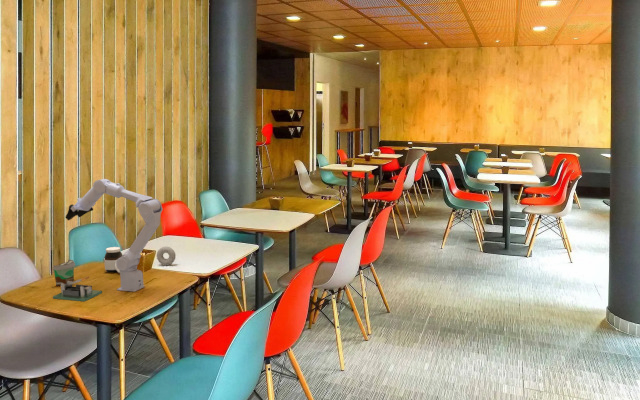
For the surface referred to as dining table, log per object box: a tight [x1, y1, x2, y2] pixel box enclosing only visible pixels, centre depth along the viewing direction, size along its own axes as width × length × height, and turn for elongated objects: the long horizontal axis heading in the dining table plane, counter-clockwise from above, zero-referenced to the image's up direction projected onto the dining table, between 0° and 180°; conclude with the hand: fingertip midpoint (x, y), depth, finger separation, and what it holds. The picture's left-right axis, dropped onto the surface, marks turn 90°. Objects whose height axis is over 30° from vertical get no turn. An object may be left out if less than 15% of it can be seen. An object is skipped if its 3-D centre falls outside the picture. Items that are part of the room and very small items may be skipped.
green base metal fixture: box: [52, 281, 103, 302], centre depth 262 cm, size 16×12×6 cm
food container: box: [52, 259, 76, 287], centre depth 280 cm, size 12×6×10 cm, turn 168°
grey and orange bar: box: [66, 276, 90, 286], centre depth 261 cm, size 12×2×1 cm, turn 72°
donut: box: [156, 246, 176, 266], centre depth 311 cm, size 10×4×10 cm, turn 86°
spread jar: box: [103, 246, 123, 274], centre depth 300 cm, size 12×11×12 cm
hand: (72, 217), depth 274 cm, fingers open, 7 cm apart
